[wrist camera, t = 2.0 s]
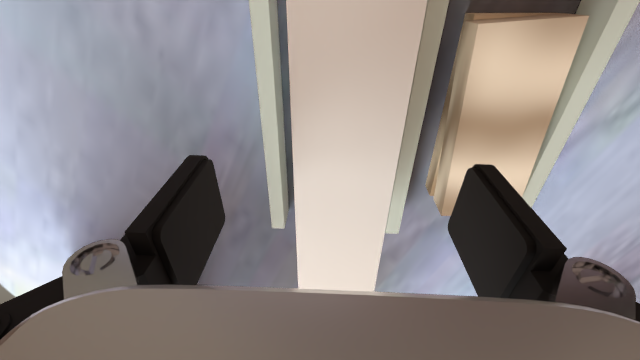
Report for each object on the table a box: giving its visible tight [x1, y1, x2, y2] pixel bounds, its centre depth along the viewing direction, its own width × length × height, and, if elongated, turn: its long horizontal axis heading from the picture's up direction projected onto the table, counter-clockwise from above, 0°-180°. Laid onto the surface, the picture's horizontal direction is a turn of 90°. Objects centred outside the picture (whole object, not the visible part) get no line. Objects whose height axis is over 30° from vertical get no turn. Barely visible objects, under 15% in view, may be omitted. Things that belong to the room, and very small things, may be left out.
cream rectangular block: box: [286, 0, 428, 292], centre depth 16 cm, size 14×4×10 cm, turn 179°
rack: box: [249, 0, 640, 234], centre depth 19 cm, size 18×19×2 cm
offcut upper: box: [434, 13, 589, 216], centre depth 18 cm, size 12×5×2 cm, turn 4°
